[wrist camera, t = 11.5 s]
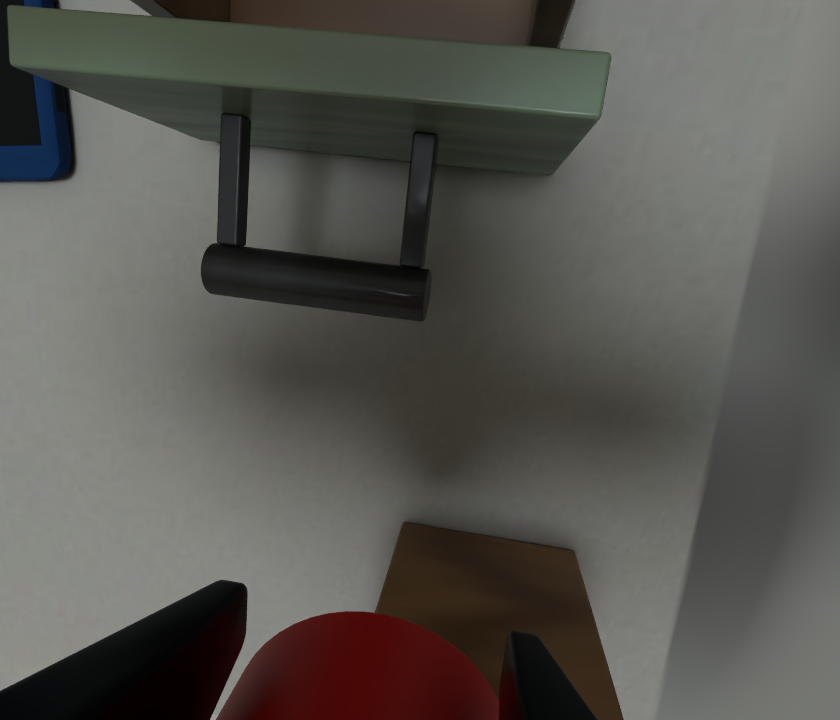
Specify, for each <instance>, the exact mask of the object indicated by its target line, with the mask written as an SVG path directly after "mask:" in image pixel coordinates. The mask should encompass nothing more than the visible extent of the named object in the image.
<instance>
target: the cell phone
mask: <svg viewBox="0 0 840 720" xmlns="http://www.w3.org/2000/svg"><path fill="white" fill-rule="evenodd" d="M9 5H16V6H29V7H42V8H54V0H0V182H3V181H51V180H55V179H58V178H60V177H62V176H64V175H66V174H67V173H68V170H69V167H70V163H71V145H70V136H69V128H68V119H67V111H66V102H65V94H64V86H61V85H59V84H56V83H54V82H51V81H49V80H46V79H44V78H41V77H38V76H36V75H33V74H31V73H28V72H26V71H23V70H20V69H18V68H15V67H14V66H12V65H11V64H10V61H9V40H8V19H7V7H8V6H9Z"/></svg>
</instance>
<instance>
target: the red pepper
mask: <svg viewBox="0 0 840 720" xmlns="http://www.w3.org/2000/svg"><path fill="white" fill-rule="evenodd" d="M216 720H499V700H498V698H497V696H496V694H495V693H494V691H493V689H492V687H491V685H490V684H489V682H488V681H487V680H486V678H485V677H484V675H483V674H482V673H481V671H480V670H479V669H478V668H477V667H476V666H475V665H474V664H473V663H472V661H471V660H470V659H469V658H468V657H467V656H466V655H464V654H463V653H462V652H461V651H460V650H458V649H457V648H456V647H455V646H454V645H452V644H451V643H449V642H448V641H446V640H445V639H443V638H442V637H440V636H439V635H437V634H436V633H434V632H432V631H430V630H428V629H426V628H424V627H422V626H420V625H417V624H414V623H412V622H409V621H406V620H404V619H401V618H397V617H393V616H389V615H385V614H378V613H371V612H349V611H345V612H336V613H327V614H323V615H319V616H315V617H311V618H308V619H306V620H303V621H301V622H298V623H296V624H294V625H292V626H290V627H288V628H286V629H285V630H283V631H281V632H279V633H278V634H277V635H275V636H274V637H273V638H271V639H270V640H269V641H268V642H266V643H265V644H264V645H263V646H262V647H261V648H260V650H259V651H258V652H257V653H256V654H255V655H254V657H253V658H252V659H251V661H250V662H249V664H248V665H247V667H246V668H245V670H244V672H243V674H242V675H241V677H240V679H239V681H238V682H237V684H236V686H235V687H234V689H233V691H232V693H231V694H230V696H229V698H228V700H227V701H226V703H225V705H224V707H223V708H222V710H221V712H220V713H219V715H218V717H217V719H216Z"/></svg>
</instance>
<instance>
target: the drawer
mask: <svg viewBox="0 0 840 720" xmlns="http://www.w3.org/2000/svg"><path fill="white" fill-rule="evenodd" d="M131 1H132V2H133V3H135V4H136V5H138V6H139V7H141V8H142V9H143V10H145V11H146V12H148V13H149V14H151V15H152V16H143V15H130V14H118V13H105V12H92V11H80V10H67V9H54V8H42V7H29V6H16V5H9V6H8V7H7V19H8V40H9V61H10V64H11V65H12V66H14V67H15V68H18V69H20V70H23V71H26V72H28V73H31V74H33V75H36V76H38V77H41V78H44V79H46V80H49V81H51V82H54V83H56V84H59V85H61V86H64V87H67V88H69V89H72V90H74V91H77V92H79V93H82V94H85V95H87V96H90V97H92V98H95V99H97V100H100V101H103V102H105V103H108V104H110V105H113V106H115V107H118V108H121V109H123V110H126V111H128V112H131V113H133V114H136V115H138V116H141V117H144V118H146V119H149V120H151V121H154V122H156V123H159V124H162V125H164V126H167V127H169V128H172V129H174V130H177V131H180V132H182V133H185V134H187V135H190V136H192V137H195V138H198V139H200V140H206V141H216V142H220V163H219V194H218V226H217V243H214V244H211V245H210V246H209V247H208V248H207V249H206V251H205V253H204V256H203V259H202V264H201V277H202V282H203V285H204V287H205V289H206V290H207V291H208V292H209V293H211V294H215V295H223V296H230V297H238V298H246V299H253V300H261V301H268V302H276V303H284V304H291V305H299V306H306V307H314V308H322V309H329V310H337V311H344V312H352V313H359V314H367V315H375V316H382V317H390V318H397V319H405V320H413V321H420V322H423V321H424V320H425V318H426V315H427V310H428V305H429V298H430V290H431V270H429V269H424V268H422V267H424V264H425V256H426V247H427V238H428V230H429V221H430V212H431V203H432V195H433V186H434V177H435V168H436V164H441V165H451V166H461V167H471V168H480V169H490V170H500V171H510V172H519V173H529V174H539V175H549V176H550V175H552V174H553V173H554V172H555V171H556V170H557V169H558V167H559V166H560V165H561V164H562V163H563V161H564V160H565V159H566V158H567V157H568V155H569V154H570V153H571V152H572V151H573V150H574V148H575V147H576V146H577V145H578V144H579V142H580V141H581V140H582V139H583V138H584V137H585V135H586V134H587V133H588V132H589V131H590V129H591V128H592V127H593V126H594V125H595V124H596V122H597V121H598V120H599V119H600V117H601V114H602V108H603V102H604V97H605V91H606V85H607V80H608V74H609V68H610V62H611V54H610V53H608V52H599V51H586V50H574V49H561V48H559V46H560V43H561V40H562V38H563V35H564V32H565V29H566V26H567V23H568V20H569V18H570V15H571V12H572V9H573V6H574V3H575V0H131ZM250 145H255V146H265V147H275V148H285V149H294V150H304V151H314V152H324V153H333V154H343V155H353V156H363V157H373V158H382V159H392V160H402V161H410V169H409V178H408V188H407V197H406V207H405V216H404V226H403V236H402V245H401V255H400V265H401V266H399V265H391V264H383V263H375V262H366V261H358V260H350V259H342V258H334V257H325V256H317V255H309V254H301V253H293V252H284V251H276V250H268V249H260V248H252V247H243V246H245V245H246V231H247V208H248V185H249V162H250Z"/></svg>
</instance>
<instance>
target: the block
mask: <svg viewBox="0 0 840 720" xmlns="http://www.w3.org/2000/svg"><path fill="white" fill-rule="evenodd" d="M375 613H378V614H385V615H389V616H393V617H397V618H401V619H404V620H406V621H409V622H412V623H414V624H417V625H420V626H422V627H424V628H426V629H428V630H430V631H432V632H434V633H436V634H437V635H439V636H440V637H442V638H443V639H445V640H446V641H448V642H449V643H451V644H452V645H454V646H455V647H456V648H457V649H458V650H460V651H461V652H462V653H463V654H464V655H466V656H467V657H468V658H469V659H470V660H471V661H472V663H473V664H474V665H475V666H476V667H477V668H478V669H479V670H480V671H481V673H482V674H483V675H484V677H485V678H486V680H487V681H488V682H489V684H490V685H491V687H492V689H493V691H494V693H495V694H496V696H497V698H498V700H499V688H500V678H501V672H502V666H503V659H504V653H505V647H506V641H507V636H508V634H509V632H510V631H513V630H514V631H520V632H525V633H531V634H535V635H537V636H538V637H539V638H540V639H541V641H542V642H543V644H544V645H545V646H546V648H547V649H548V651H549V652H550V653H551V655H552V656H553V658H554V659H555V661H556V662H557V663H558V665H559V666H560V668H561V669H562V670H563V672H564V673H565V675H566V676H567V678H568V679H569V680H570V682H571V683H572V685H573V686H574V687H575V689H576V690H577V692H578V693H579V695H580V696H581V697H582V699H583V700H584V702H585V703H586V704H587V706H588V707H589V709H590V710H591V712H592V713H593V714H594V716H595V717H596V719H597V720H624V719H623V716H622V712H621V709H620V705H619V702H618V699H617V695H616V692H615V688H614V685H613V681H612V678H611V675H610V671H609V668H608V664H607V661H606V657H605V654H604V650H603V647H602V644H601V640H600V637H599V633H598V630H597V626H596V623H595V620H594V616H593V613H592V609H591V606H590V602H589V599H588V595H587V592H586V589H585V585H584V582H583V578H582V575H581V571H580V568H579V564H578V561H577V558H576V554H575V552H574V551H570V550H564V549H558V548H552V547H546V546H541V545H535V544H529V543H523V542H517V541H511V540H505V539H499V538H493V537H487V536H482V535H476V534H470V533H464V532H458V531H452V530H446V529H440V528H434V527H429V526H423V525H417V524H411V523H403V524H402V527H401V530H400V533H399V537H398V540H397V543H396V546H395V549H394V553H393V556H392V559H391V562H390V565H389V569H388V572H387V575H386V578H385V582H384V585H383V588H382V591H381V594H380V598H379V601H378V604H377V607H376V610H375Z"/></svg>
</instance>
